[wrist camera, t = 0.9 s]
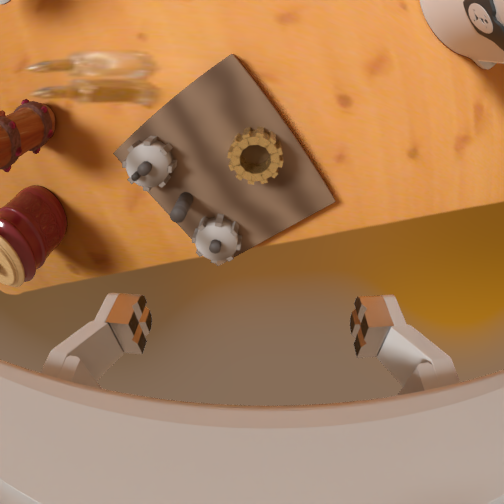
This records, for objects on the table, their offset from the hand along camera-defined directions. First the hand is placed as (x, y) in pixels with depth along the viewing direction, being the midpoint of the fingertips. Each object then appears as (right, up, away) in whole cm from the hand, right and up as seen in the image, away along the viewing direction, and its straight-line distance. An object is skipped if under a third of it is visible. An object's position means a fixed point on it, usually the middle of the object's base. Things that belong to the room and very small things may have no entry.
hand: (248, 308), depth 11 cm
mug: (-35, +24, +24) cm, 49 cm away
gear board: (-4, +14, +29) cm, 33 cm away
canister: (-39, +9, +35) cm, 53 cm away
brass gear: (+1, +15, +26) cm, 30 cm away
